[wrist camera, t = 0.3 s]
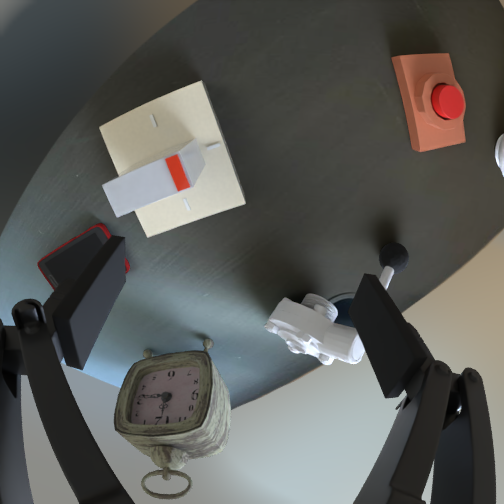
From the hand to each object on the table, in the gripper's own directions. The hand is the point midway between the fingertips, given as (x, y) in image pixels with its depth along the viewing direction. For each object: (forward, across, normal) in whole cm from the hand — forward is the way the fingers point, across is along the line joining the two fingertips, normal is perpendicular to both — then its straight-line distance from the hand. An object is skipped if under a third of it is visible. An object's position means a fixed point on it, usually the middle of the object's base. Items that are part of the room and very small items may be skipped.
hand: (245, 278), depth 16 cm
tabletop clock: (+21, -4, -30) cm, 37 cm away
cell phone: (+21, -21, -15) cm, 33 cm away
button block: (+21, +21, +16) cm, 33 cm away
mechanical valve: (+21, +16, -12) cm, 29 cm away
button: (+17, +21, +16) cm, 31 cm away
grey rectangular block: (+18, -8, +1) cm, 19 cm away
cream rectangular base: (+21, -8, +1) cm, 22 cm away
